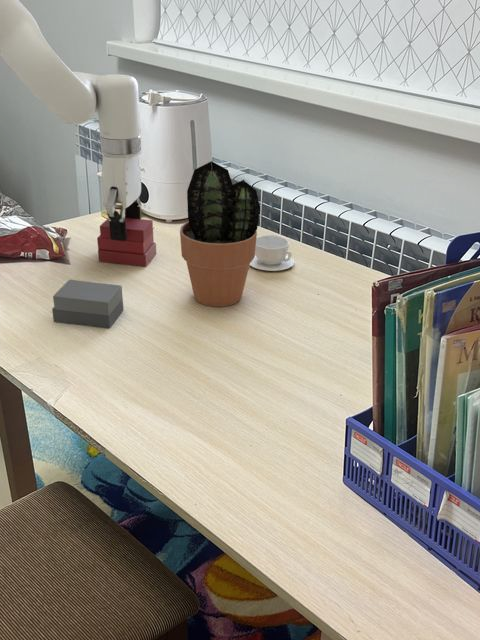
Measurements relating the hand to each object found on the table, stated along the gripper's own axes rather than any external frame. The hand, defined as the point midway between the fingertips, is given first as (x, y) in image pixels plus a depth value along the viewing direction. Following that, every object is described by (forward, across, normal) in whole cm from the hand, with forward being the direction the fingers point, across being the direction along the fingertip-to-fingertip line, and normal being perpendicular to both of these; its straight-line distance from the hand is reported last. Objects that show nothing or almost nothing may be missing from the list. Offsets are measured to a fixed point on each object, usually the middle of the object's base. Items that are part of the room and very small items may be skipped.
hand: (126, 231), depth 140 cm
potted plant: (+6, +13, +22) cm, 26 cm away
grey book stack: (+6, +26, +2) cm, 27 cm away
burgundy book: (+1, 0, 0) cm, 1 cm away
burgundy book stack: (+6, 0, 0) cm, 6 cm away
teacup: (+6, -5, +29) cm, 30 cm away
